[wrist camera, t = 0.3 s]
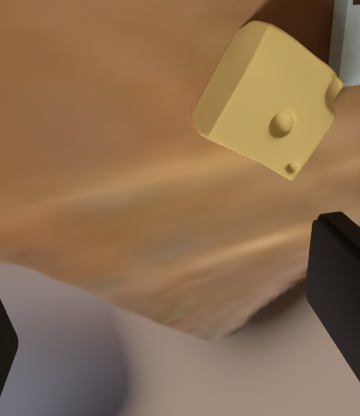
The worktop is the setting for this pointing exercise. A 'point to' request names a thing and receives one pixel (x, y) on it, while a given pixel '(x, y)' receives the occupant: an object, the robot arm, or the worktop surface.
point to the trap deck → (345, 42)
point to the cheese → (268, 99)
